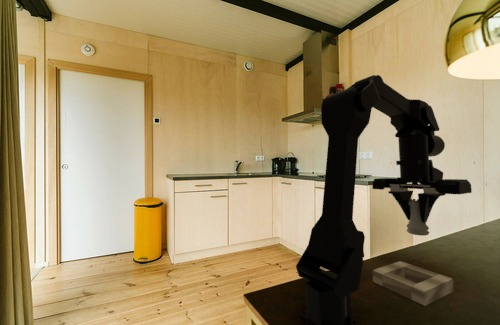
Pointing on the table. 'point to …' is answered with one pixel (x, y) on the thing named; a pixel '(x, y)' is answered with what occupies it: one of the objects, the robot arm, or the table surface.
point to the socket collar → (421, 292)
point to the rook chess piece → (416, 220)
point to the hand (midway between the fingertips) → (417, 221)
